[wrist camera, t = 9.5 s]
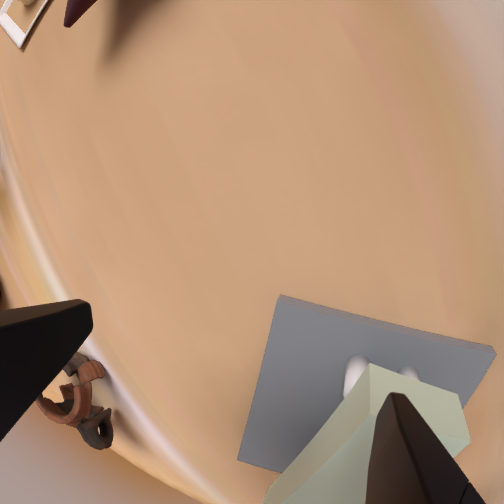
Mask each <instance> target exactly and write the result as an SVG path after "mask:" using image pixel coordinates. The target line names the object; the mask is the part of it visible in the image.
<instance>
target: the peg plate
mask: <svg viewBox="0 0 504 504" xmlns="http://www.w3.org/2000/svg"><path fill="white" fill-rule="evenodd" d="M495 356H496V352H495V350H494V349H493V347H492V346H487V345H483V344H478V343H473V342H469V341H464V340H460V339H455V338H451V337H446V336H442V335H438V334H433V333H429V332H425V331H421V330H416V329H412V328H408V327H404V326H400V325H395V324H391V323H387V322H383V321H379V320H375V319H371V318H367V317H363V316H359V315H355V314H351V313H348V312H344V311H340V310H336V309H332V308H328V307H324V306H321V305H317V304H313V303H309V302H306V301H302V300H298V299H295V298H291V297H287V296H284V295H280V296H279V298H278V300H277V303H276V307H275V311H274V316H273V320H272V324H271V329H270V333H269V337H268V341H267V345H266V349H265V354H264V358H263V362H262V366H261V370H260V374H259V378H258V382H257V386H256V390H255V394H254V398H253V402H252V405H251V409H250V413H249V417H248V421H247V425H246V428H245V432H244V436H243V439H242V443H241V447H240V451H239V454H238V458H237V460H239V461H242V462H245V463H248V464H251V465H254V466H258V467H261V468H265V469H268V470H272V471H275V472H279V473H283V472H284V471H285V470H286V469H287V467H288V466H289V465H290V464H291V463H292V462H293V461H294V460H295V459H296V457H297V456H298V455H299V454H300V453H301V452H302V451H303V449H304V448H305V447H306V446H307V445H308V444H309V442H310V441H311V440H312V439H313V438H314V436H315V435H316V434H317V433H318V432H319V430H320V429H321V428H322V427H323V425H324V424H325V423H326V422H327V420H328V419H329V418H330V417H331V415H332V414H333V413H334V411H335V410H336V409H337V408H338V406H339V405H340V404H341V402H342V401H343V400H344V398H345V397H346V395H347V394H348V393H349V391H350V390H351V389H352V387H353V386H354V384H355V383H356V382H357V380H358V379H359V377H360V376H361V374H362V373H363V371H364V370H365V369H366V367H367V366H368V364H369V363H372V364H374V365H377V366H380V367H382V368H385V369H388V370H390V371H393V372H396V373H398V374H401V375H404V376H407V377H409V378H412V379H415V380H418V381H421V382H423V383H426V384H429V385H432V386H435V387H438V388H441V389H444V390H447V391H450V392H453V393H456V394H458V397H459V400H460V404H461V407H462V409H463V408H464V406H465V405H466V403H467V402H468V400H469V399H470V397H471V396H472V394H473V393H474V391H475V390H476V388H477V386H478V385H479V383H480V382H481V380H482V378H483V377H484V375H485V374H486V372H487V370H488V368H489V367H490V365H491V363H492V361H493V360H494V358H495Z"/></svg>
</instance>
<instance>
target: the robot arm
mask: <svg viewBox="0 0 504 504" xmlns="http://www.w3.org/2000/svg"><path fill="white" fill-rule="evenodd" d="M92 329H93V319H92V311H91V306H90V304H89V303H88V302H86V301H84V300H81V299H75V300H68V301H62V302H56V303H49V304H42V305H36V306H29V307H22V308H16V309H9V310H2V311H0V442H1V441H2V439H3V438H4V437H5V436H6V434H7V433H8V432H9V431H10V430H11V428H12V427H13V426H14V425H15V424H16V422H17V421H18V420H19V419H20V418H21V416H22V415H23V414H24V412H26V410H27V409H28V408H29V407H30V406H31V405H32V403H33V402H34V401H35V400H36V399H37V398H38V397H39V395H40V394H41V393H42V392H43V391H44V390H45V388H46V387H47V386H48V385H49V384H50V383H51V382H52V381H53V379H54V378H55V377H56V376H57V375H58V374H59V373H60V372H61V371H62V369H63V368H64V367H65V366H66V365H67V364H68V362H69V361H70V360H71V358H72V357H73V356H74V354H75V353H76V352H77V350H78V349H79V348H80V346H81V345H82V344H83V342H84V341H85V340H86V338H87V337H88V336H89V334H90V333H91V332H92ZM468 482H469V480H468V478H467V477H466V476H465V474H464V473H463V471H462V470H461V469H460V467H459V466H458V464H457V463H456V462H455V460H454V459H453V458H452V456H451V455H450V453H449V452H448V451H447V449H446V448H445V447H444V445H443V444H442V443H441V441H440V440H439V439H438V437H437V436H436V434H435V433H434V432H433V430H432V429H431V428H430V426H429V425H428V424H427V422H426V421H425V420H424V418H423V417H422V416H421V415H420V413H419V412H418V411H417V409H416V408H415V407H414V405H413V404H412V403H411V401H410V400H409V399H408V397H407V396H406V395H405V394H403V393H397V392H390V393H389V394H388V395H387V397H386V399H385V401H384V403H383V405H382V407H381V409H380V411H379V412H378V415H377V418H376V423H375V430H374V436H373V443H372V449H371V455H370V460H369V466H368V475H367V489H366V501H365V504H486V503H485V502H484V500H483V499H482V498H481V496H480V495H479V494H478V492H477V491H476V489H475V488H474V487H473V485H472V484H471V483H470V482H469V483H468Z"/></svg>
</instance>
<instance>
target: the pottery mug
mask: <svg viewBox="0 0 504 504" xmlns="http://www.w3.org/2000/svg"><path fill="white" fill-rule="evenodd" d="M63 370H64V371H65V372H66V374H67V375H68V376H69V377H70V376H72V375H73V374H75V373H76V374H77V377H78V379H79V382H80V385H78V386H76V387H74V386H73V384H72V383H69V384H66V385H61V386H60V390H61V392H62V395H63V398H64V402H62V403H54V402H53V401H52V400H50V399H48V398H46V397H45V398H43V395H42V393H41V394H40V395H39V397H38V398H37V399H36V400H35V401H36V403H37V405H38V407H39V408H40V409H41V411H42V412H43V413H44V414H45V415H46V416H47V417H48V418H49V419H51V420H53V421H55V422H57V423H60V424H66V425H69V426H72V427H75V428H77V429H78V431H79V432H80V434H81V435H82V437H83V439H84V441H85V442H86V443H88V444H89V445H90V446H91V447H93V448H95V449H98V450H102V449H104V448H109V447H110V446H111V443H112V441H113V427H112V424H111V420H110V417H111V411H112V410H111V409H110V408H108V409H107V410H105V411H103V412H102V410H103V407H102V406H101V407H97V406H92V405H91V399H92V385H91V381H92V380H94V379H96V378H103V377H104V376H105V374H106V373H105V371H104V368H103V366H102V364H101V363H100V362H98V361H95V360H92V361H89V359H88V358H87V357H86V356H84V355H82V354H80V353H78V352H76V353H75V354H74V356H73V357H72V358H71V360H70V361H69V362H68V364H67V365H66V366H65V367H64V368H63ZM101 412H102V413H101ZM98 426H99V429H100V434H99V432H98Z"/></svg>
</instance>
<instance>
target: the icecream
mask: <svg viewBox="0 0 504 504" xmlns="http://www.w3.org/2000/svg"><path fill="white" fill-rule="evenodd" d="M96 1H97V0H68V2H67V7H66V13H65V18H64V26H65V27H68V28H70V27H71V26H72V25H73V24H74V23H75V22H76V21H77V20H78V19H79V18H80V17H81V16H82V15H83V14H84V13H85V12H86V11H87V10H88V9H89V8H90V7H91V6H92V5H93V4H94V3H95V2H96Z"/></svg>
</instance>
